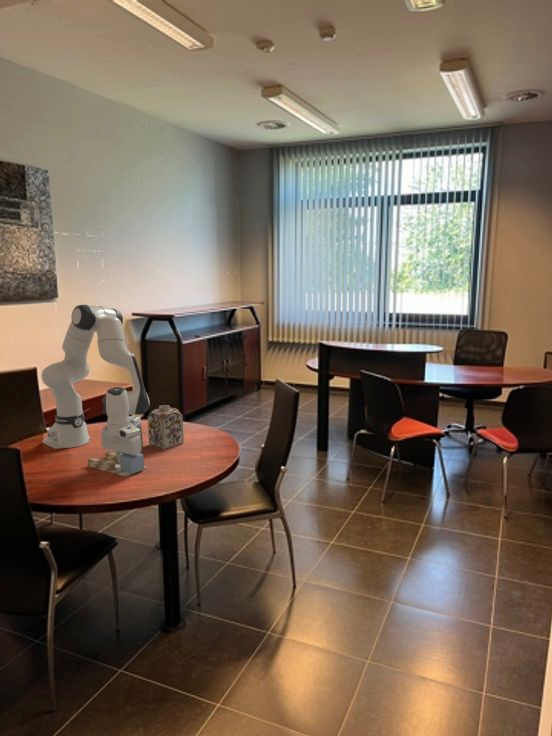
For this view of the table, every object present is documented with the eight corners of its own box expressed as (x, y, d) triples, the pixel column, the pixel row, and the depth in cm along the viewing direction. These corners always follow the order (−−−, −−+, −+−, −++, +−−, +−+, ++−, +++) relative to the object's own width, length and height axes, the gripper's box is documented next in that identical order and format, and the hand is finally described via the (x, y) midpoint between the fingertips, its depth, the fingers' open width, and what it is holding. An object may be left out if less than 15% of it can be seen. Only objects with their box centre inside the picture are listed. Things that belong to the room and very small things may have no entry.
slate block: (120, 470, 210) (119, 455, 209) (132, 465, 215) (131, 451, 214) (132, 473, 206) (131, 458, 205) (144, 468, 211) (143, 454, 210)
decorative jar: (164, 449, 236) (161, 410, 233) (148, 444, 244) (145, 406, 241) (185, 443, 245) (183, 405, 242) (169, 438, 253) (167, 401, 250)
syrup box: (137, 451, 235) (135, 419, 232) (125, 451, 236) (122, 419, 233) (143, 447, 240) (141, 416, 238) (131, 447, 241) (129, 416, 239)
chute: (87, 465, 218) (87, 458, 217) (109, 458, 227) (109, 451, 226) (125, 476, 205) (124, 469, 205) (147, 468, 214) (146, 460, 214)
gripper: (96, 427, 215) (98, 459, 217) (130, 434, 203) (132, 468, 206) (108, 423, 220) (111, 455, 222) (142, 430, 208) (145, 464, 211)
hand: (122, 461), depth 214 cm, fingers closed
